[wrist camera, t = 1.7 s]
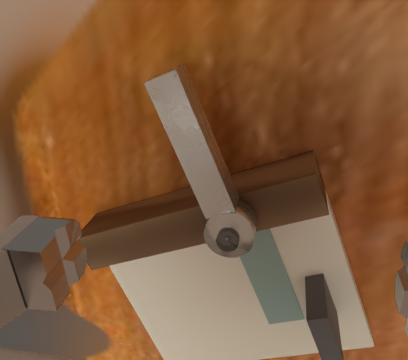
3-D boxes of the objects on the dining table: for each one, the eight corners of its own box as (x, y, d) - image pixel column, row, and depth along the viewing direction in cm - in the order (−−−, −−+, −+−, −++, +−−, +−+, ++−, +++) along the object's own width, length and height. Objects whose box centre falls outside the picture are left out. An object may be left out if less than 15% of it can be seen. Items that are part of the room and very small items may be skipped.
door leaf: (370, 327, 33) (386, 398, 27) (175, 352, 39) (154, 413, 34) (324, 186, 28) (332, 236, 22) (112, 241, 35) (76, 290, 29)
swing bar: (263, 234, 26) (260, 257, 24) (220, 244, 27) (213, 267, 25) (193, 60, 22) (181, 68, 20) (145, 80, 23) (129, 89, 21)
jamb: (324, 186, 28) (329, 214, 25) (112, 241, 35) (91, 269, 31) (313, 150, 27) (315, 174, 24) (96, 213, 34) (73, 239, 30)
